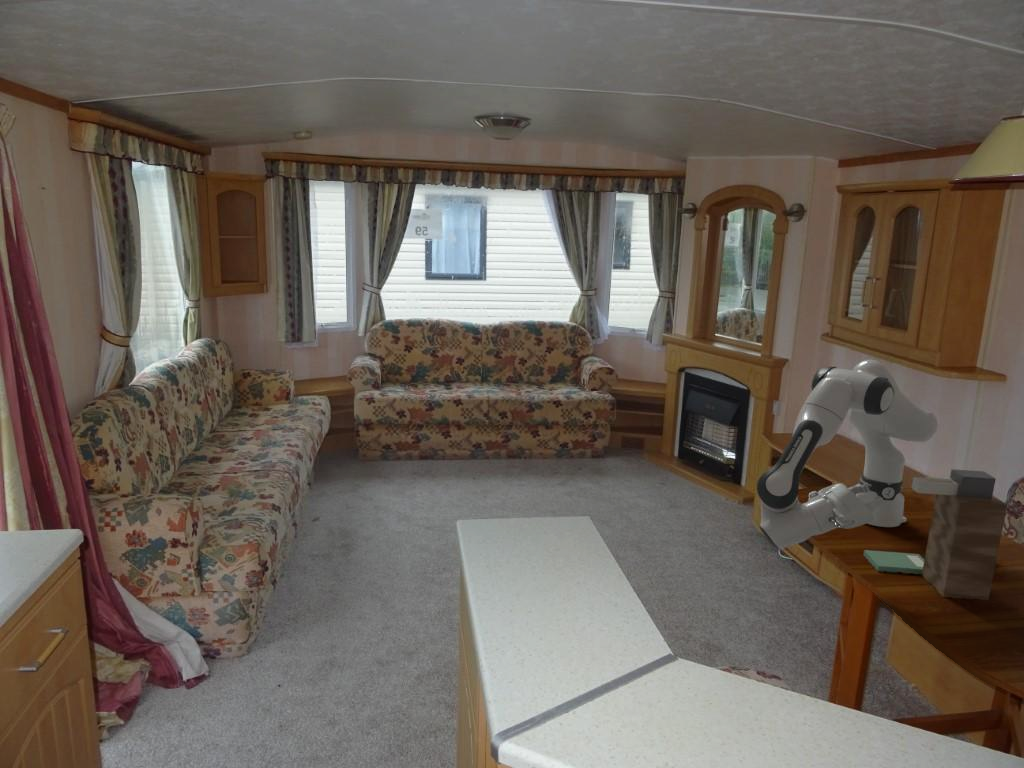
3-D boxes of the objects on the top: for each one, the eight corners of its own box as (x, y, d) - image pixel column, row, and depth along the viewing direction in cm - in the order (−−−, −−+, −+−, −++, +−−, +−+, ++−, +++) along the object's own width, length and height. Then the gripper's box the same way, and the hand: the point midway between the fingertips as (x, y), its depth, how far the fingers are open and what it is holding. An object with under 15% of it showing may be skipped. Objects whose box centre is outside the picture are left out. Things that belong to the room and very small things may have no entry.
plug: (909, 486, 191) (913, 466, 190) (980, 491, 189) (983, 471, 188) (919, 494, 185) (923, 473, 184) (991, 499, 184) (995, 478, 183)
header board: (863, 554, 210) (864, 550, 210) (917, 558, 209) (918, 554, 209) (877, 570, 200) (878, 565, 200) (934, 575, 199) (935, 570, 199)
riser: (921, 575, 199) (937, 484, 193) (963, 578, 198) (981, 487, 192) (943, 597, 187) (961, 501, 182) (988, 600, 186) (1007, 504, 181)
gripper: (832, 518, 181) (887, 496, 179) (807, 490, 201) (856, 470, 199) (842, 540, 182) (896, 518, 180) (816, 510, 202) (864, 490, 200)
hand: (875, 493), depth 190 cm, fingers open, 8 cm apart
